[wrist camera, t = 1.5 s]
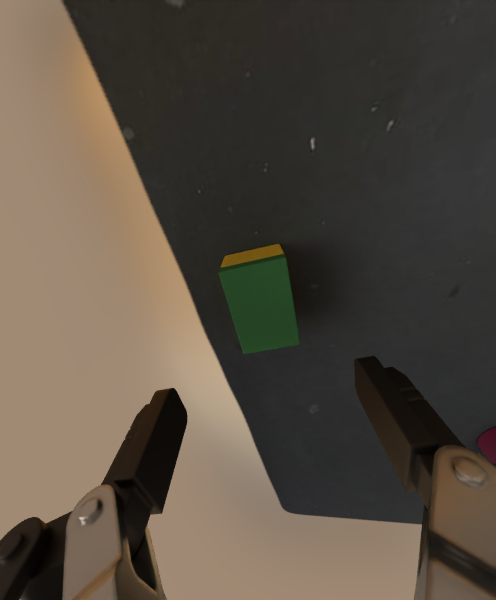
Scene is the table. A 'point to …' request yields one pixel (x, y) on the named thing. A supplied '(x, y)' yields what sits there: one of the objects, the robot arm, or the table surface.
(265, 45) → the table surface
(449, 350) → the table surface
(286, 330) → the sponge
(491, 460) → the cup
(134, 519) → the robot arm
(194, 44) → the table surface
